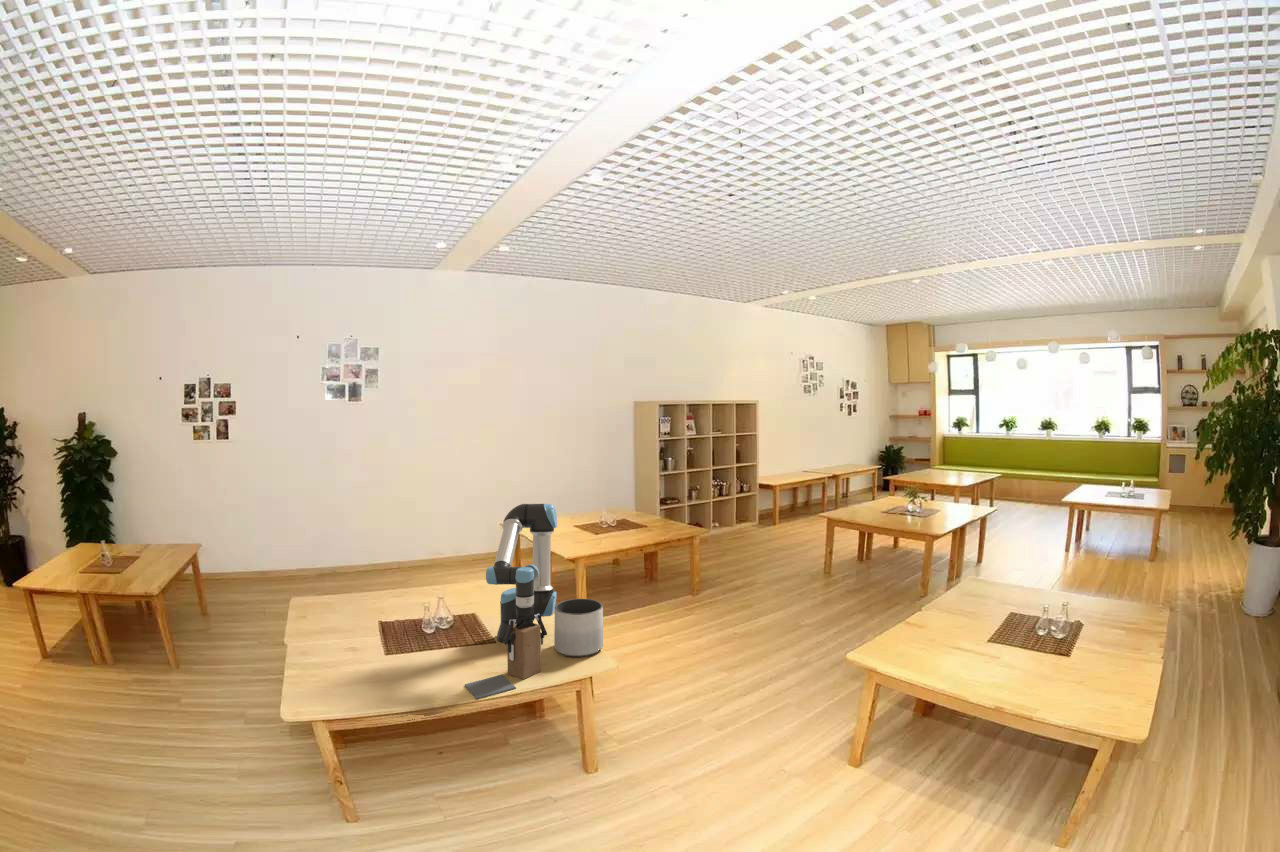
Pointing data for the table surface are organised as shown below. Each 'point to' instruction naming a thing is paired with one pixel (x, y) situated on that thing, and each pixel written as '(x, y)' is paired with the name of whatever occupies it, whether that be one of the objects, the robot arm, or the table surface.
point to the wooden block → (525, 652)
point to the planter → (578, 627)
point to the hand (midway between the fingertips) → (525, 656)
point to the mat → (489, 686)
